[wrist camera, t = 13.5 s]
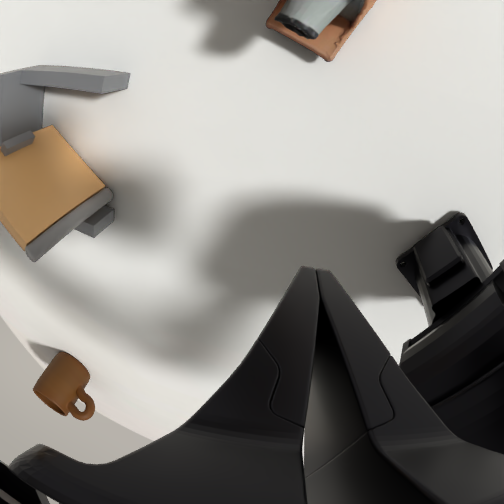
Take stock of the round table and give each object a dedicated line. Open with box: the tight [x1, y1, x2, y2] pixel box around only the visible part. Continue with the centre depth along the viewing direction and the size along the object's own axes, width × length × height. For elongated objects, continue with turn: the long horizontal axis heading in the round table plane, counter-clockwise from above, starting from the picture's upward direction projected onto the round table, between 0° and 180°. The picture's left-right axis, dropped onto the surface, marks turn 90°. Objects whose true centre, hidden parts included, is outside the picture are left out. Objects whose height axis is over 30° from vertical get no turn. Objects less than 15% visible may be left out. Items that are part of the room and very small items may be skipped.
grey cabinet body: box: [0, 65, 130, 238], centre depth 19 cm, size 12×13×5 cm
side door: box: [0, 125, 113, 262], centre depth 18 cm, size 2×9×9 cm, turn 42°
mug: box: [33, 352, 95, 421], centre depth 41 cm, size 12×8×9 cm, turn 82°
